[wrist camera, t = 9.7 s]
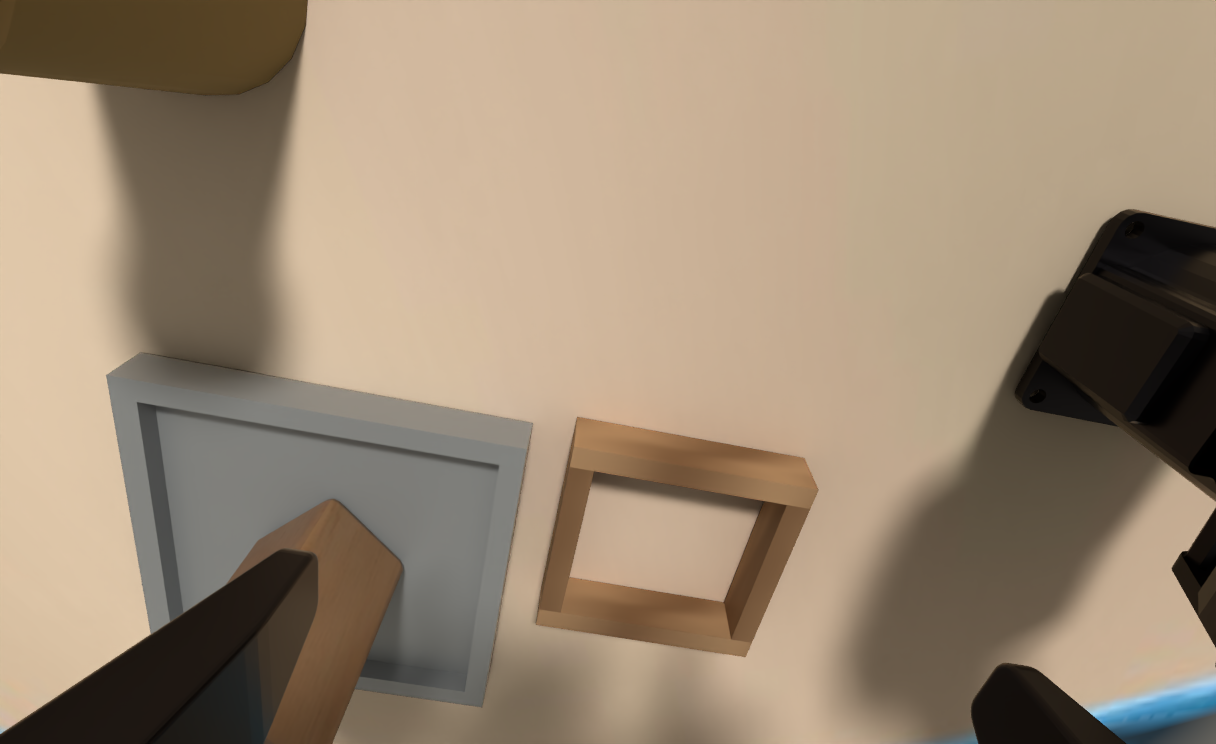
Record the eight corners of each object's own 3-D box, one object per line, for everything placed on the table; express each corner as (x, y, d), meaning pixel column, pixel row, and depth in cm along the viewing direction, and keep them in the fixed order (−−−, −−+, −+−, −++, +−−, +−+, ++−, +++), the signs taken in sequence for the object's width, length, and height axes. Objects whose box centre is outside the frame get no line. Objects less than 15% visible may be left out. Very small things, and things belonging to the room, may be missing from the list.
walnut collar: (804, 458, 23) (818, 490, 21) (737, 619, 26) (745, 657, 25) (577, 417, 22) (573, 446, 20) (541, 588, 26) (536, 624, 24)
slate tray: (532, 422, 22) (527, 449, 21) (489, 673, 28) (481, 707, 27) (140, 352, 21) (106, 374, 20) (179, 627, 27) (155, 660, 26)
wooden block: (255, 537, 24) (99, 750, 17) (335, 490, 23) (205, 696, 16) (332, 604, 25) (219, 826, 18) (410, 563, 24) (323, 781, 17)
